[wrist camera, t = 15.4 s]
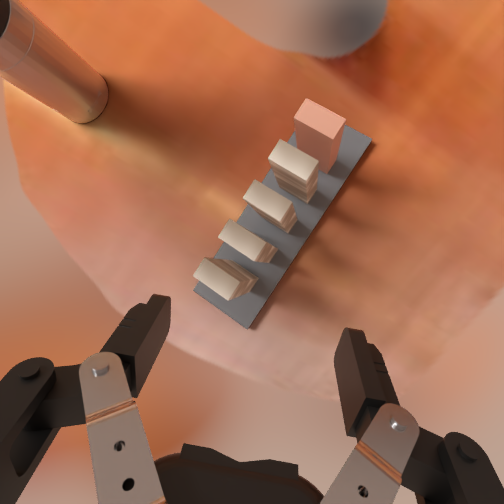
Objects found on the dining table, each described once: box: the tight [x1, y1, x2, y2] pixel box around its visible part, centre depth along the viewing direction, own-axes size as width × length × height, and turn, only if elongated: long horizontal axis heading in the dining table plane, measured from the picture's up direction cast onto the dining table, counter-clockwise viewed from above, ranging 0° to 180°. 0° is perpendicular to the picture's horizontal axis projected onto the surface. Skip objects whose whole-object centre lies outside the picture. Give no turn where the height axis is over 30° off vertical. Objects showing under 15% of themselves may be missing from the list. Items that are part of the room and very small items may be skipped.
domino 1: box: [268, 139, 319, 204], centre depth 38 cm, size 2×5×12 cm, turn 57°
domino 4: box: [193, 258, 259, 301], centre depth 39 cm, size 2×5×12 cm, turn 57°
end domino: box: [294, 98, 346, 174], centre depth 38 cm, size 2×5×12 cm, turn 57°
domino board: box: [193, 125, 372, 329], centre depth 45 cm, size 10×32×1 cm, turn 147°
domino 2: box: [243, 179, 297, 233], centre depth 38 cm, size 2×5×12 cm, turn 57°
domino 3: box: [218, 219, 278, 263], centre depth 39 cm, size 2×5×12 cm, turn 57°
